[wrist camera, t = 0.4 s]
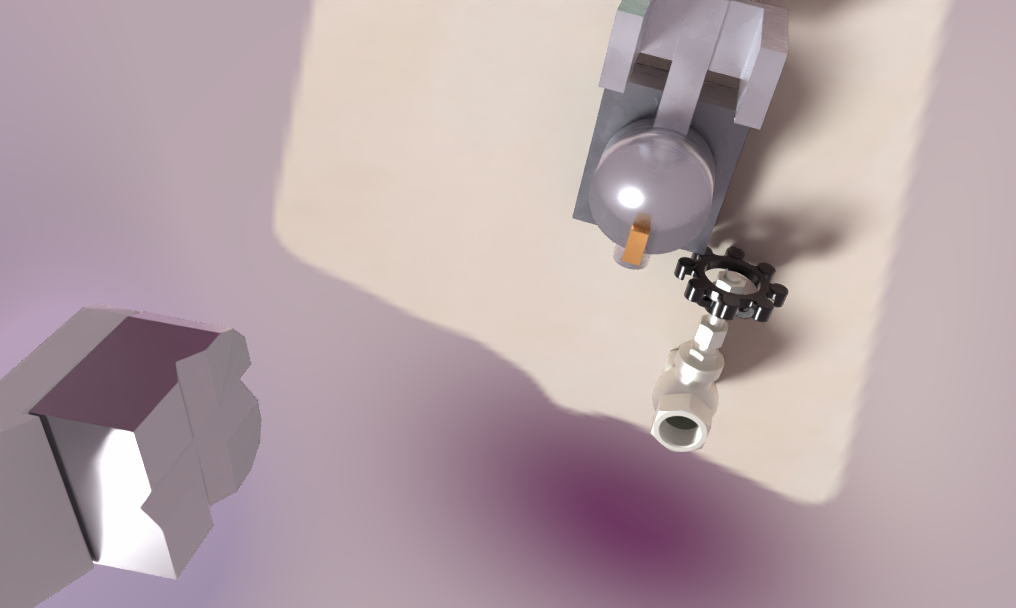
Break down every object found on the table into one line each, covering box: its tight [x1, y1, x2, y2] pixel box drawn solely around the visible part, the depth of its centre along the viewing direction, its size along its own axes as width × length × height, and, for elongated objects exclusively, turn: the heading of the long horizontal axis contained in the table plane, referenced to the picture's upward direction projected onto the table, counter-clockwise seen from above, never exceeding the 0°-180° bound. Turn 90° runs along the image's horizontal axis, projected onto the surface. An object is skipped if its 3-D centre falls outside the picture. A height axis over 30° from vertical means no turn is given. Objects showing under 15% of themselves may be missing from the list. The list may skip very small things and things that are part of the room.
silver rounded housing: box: [589, 0, 789, 265], centre depth 47 cm, size 14×8×7 cm, turn 170°
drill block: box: [572, 63, 750, 269], centre depth 54 cm, size 12×8×3 cm
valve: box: [651, 247, 788, 452], centre depth 58 cm, size 7×7×12 cm
